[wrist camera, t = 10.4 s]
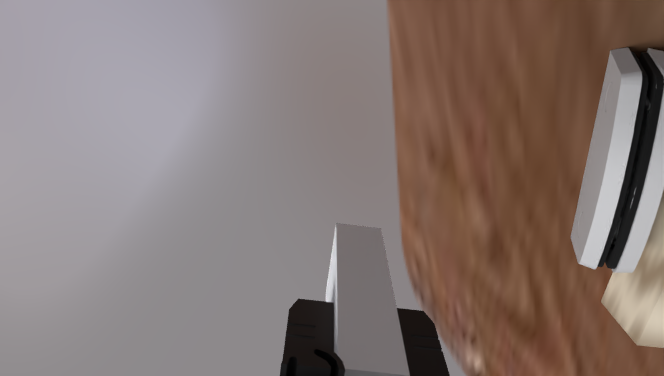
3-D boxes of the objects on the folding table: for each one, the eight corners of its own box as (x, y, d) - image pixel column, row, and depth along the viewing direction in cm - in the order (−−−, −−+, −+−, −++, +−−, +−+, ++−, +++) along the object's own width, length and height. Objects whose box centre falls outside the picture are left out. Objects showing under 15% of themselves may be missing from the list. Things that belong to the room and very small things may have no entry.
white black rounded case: (626, 240, 44) (650, 303, 35) (568, 231, 45) (577, 290, 37) (677, 46, 37) (722, 67, 29) (608, 44, 39) (630, 63, 30)
